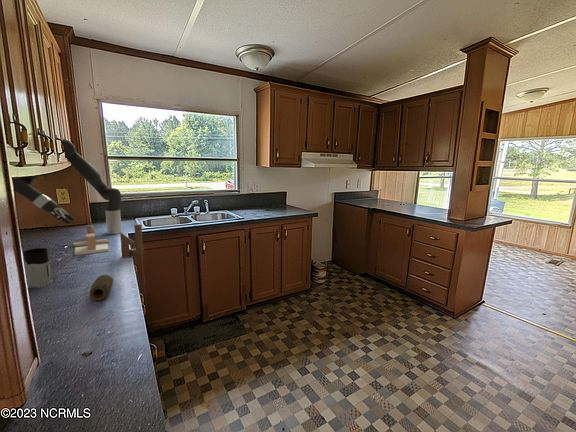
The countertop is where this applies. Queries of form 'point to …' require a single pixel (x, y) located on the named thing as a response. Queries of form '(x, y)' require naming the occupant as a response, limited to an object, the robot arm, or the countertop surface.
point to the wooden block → (127, 241)
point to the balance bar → (90, 230)
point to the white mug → (38, 266)
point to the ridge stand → (91, 246)
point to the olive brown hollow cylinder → (101, 287)
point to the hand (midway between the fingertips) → (71, 221)
